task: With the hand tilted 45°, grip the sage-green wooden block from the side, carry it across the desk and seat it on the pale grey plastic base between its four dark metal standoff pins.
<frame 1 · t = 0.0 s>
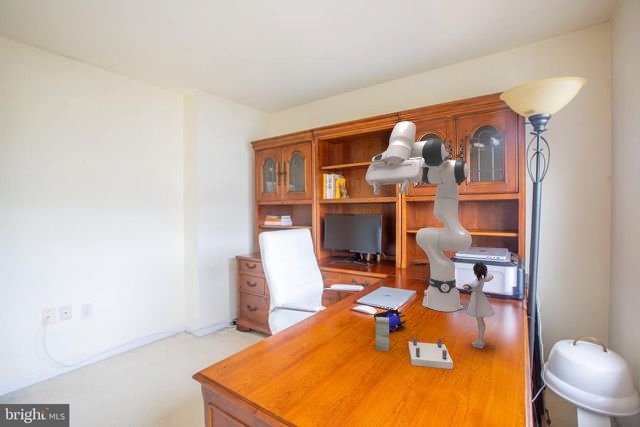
hand: (388, 193, 102), 54 cm above the table, tool tilted 30°, fingers open, 8 cm apart
character figurine: (389, 330, 120), on the table
sage block: (382, 347, 105), on the table
figurine: (480, 347, 105), on the table
display base: (429, 357, 98), on the table
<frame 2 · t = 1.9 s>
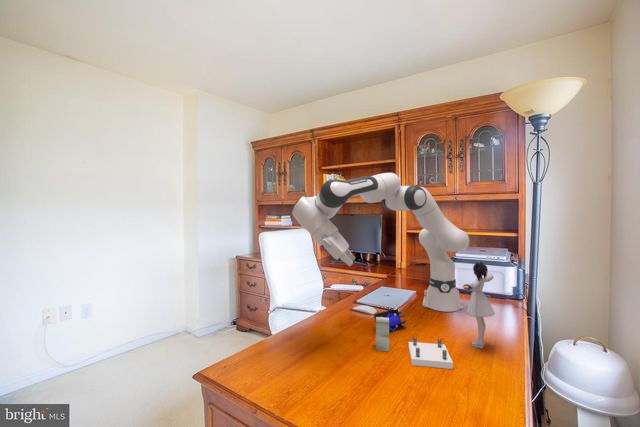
hand: (352, 262, 106), 30 cm above the table, tool tilted 45°, fingers open, 8 cm apart
nothing on the table moved.
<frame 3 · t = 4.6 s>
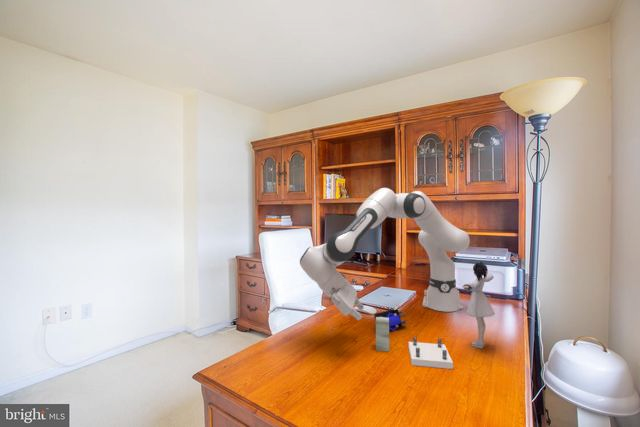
hand: (361, 313, 106), 12 cm above the table, tool tilted 45°, fingers open, 8 cm apart
nothing on the table moved.
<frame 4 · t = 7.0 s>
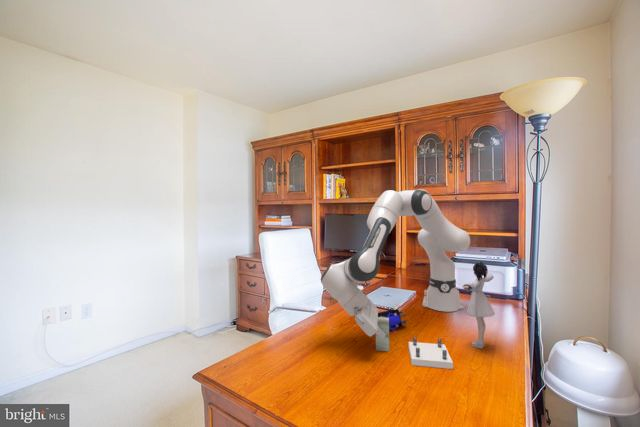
hand: (384, 332, 105), 5 cm above the table, tool tilted 45°, fingers closed on sage block, 4 cm apart
sage block: (382, 347, 105), on the table, touching gripper
everything else where it was.
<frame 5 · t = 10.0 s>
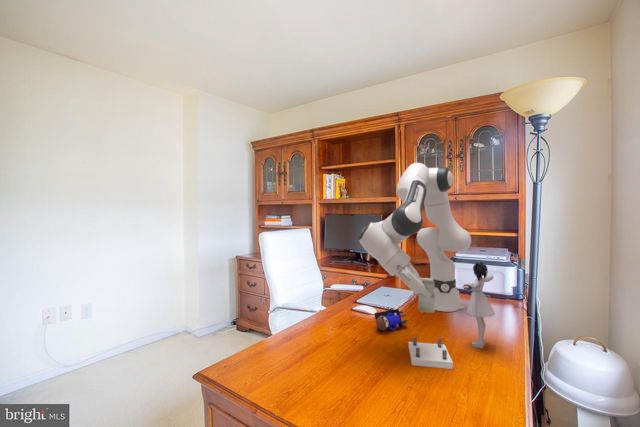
hand: (428, 293, 98), 21 cm above the table, tool tilted 45°, fingers closed on sage block, 4 cm apart
sage block: (426, 309, 98), point 16 cm above the table, touching gripper
everything else where it was.
when the fingers open (9 cm above the table, at t = 12.9 s): sage block drops 1 cm, resting on display base.
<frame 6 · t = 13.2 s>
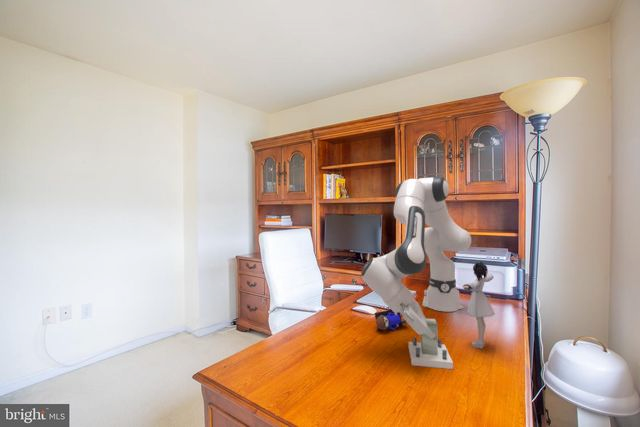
hand: (431, 330, 98), 9 cm above the table, tool tilted 45°, fingers open, 7 cm apart
sage block: (428, 351, 98), point 2 cm above the table, touching display base
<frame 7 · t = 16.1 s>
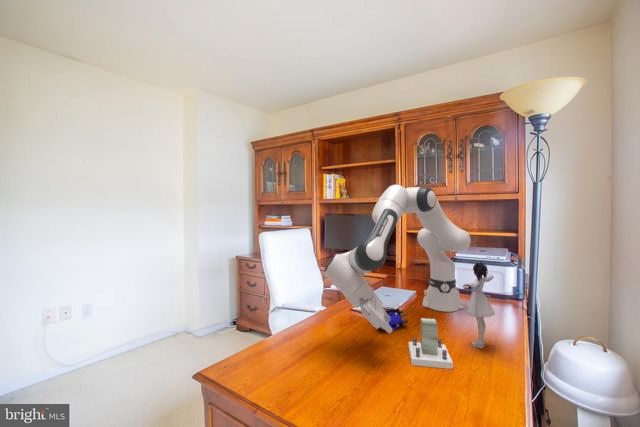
hand: (390, 325, 100), 9 cm above the table, tool tilted 45°, fingers open, 8 cm apart
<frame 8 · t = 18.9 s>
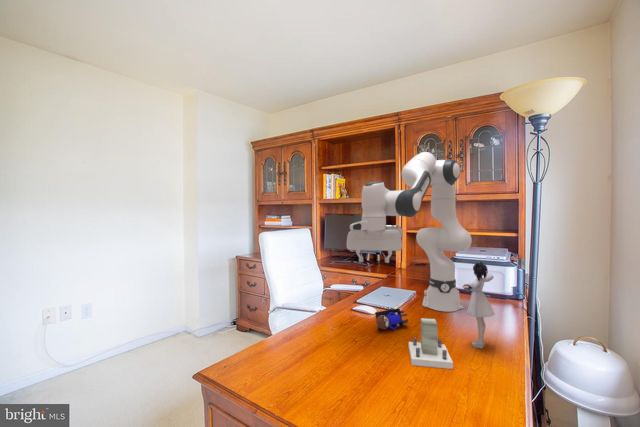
hand: (373, 262, 111), 29 cm above the table, tool pointing down, fingers open, 8 cm apart
at the end: sage block 0.1 cm off-centre on the display base, point 2.0 cm above the display base's base; sage block tilted 0°; the gripper is holding nothing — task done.
